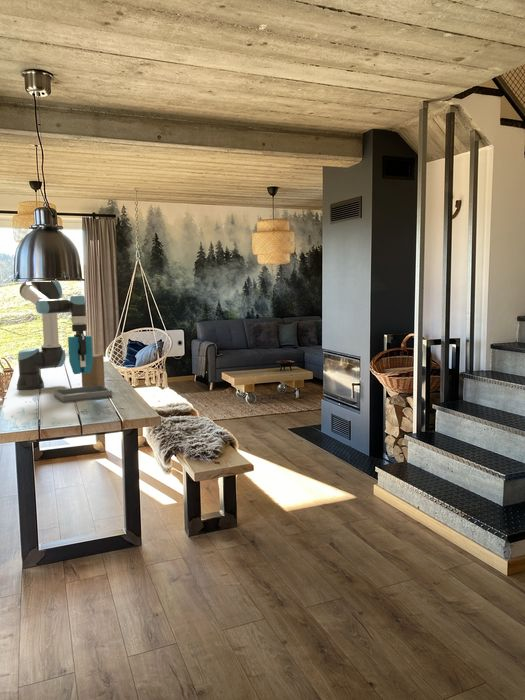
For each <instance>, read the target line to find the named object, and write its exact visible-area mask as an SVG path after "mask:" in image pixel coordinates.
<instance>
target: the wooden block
mask: <svg viewBox="0 0 525 700" xmlns="http://www.w3.org/2000/svg"><path fill="white" fill-rule="evenodd" d="M104 363H105V362H104V355H103V354H99V353H98V354H97V353H95V354H93V363H92V367H91V372H90V373H81V387H87V386H96V385H101V386H104V387H105V385H106V384H105V383H106V382H105V381H106V380H105V364H104Z"/></svg>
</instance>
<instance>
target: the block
mask: <svg viewBox="0 0 525 700" xmlns="http://www.w3.org/2000/svg"><path fill="white" fill-rule="evenodd" d="M85 336H86V354H85V361H86V367H80V359H78V349H79V343H78V339H79V337H74V336H67V342H68V343H67V345H68V361H69V365H70V368H71V371H72V373H73V375H81V374H82V373H90V372H91V367H92V363H93V337H92V335H85ZM79 341H80V340H79Z"/></svg>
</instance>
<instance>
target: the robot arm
mask: <svg viewBox="0 0 525 700" xmlns="http://www.w3.org/2000/svg"><path fill="white" fill-rule="evenodd" d="M19 294H20V297H21V298H23V299H24V300H26V301H29V302H31V304H33V305H34V306H35V310H36V312H37V314H41V317H42V333H43V334H42V335H43V336H42V337H43V344H42V345H41V347H40V348H41V349H39V347H30V348H25V349H21V350H19V352H18V353H17V361H18V375H19V376H18V379H17V384H16V388H17V390H36V389H42V388H43V387H45V382H44V380H43V377H42V375H41V370H42V369H51V368H52V369H56V368H61V367H63V365H64V364H65V362H66V357H67V356H66V351H65V348H63V347H62V345H61V344H60V343H59V327H58V325H59V324H58V314H66V313H68V314H69V313H70V314H71V318H70V321H71V324H72V325H71V330H72V332H75V334H74V336H73V337H79V339H78V343H79V349H78V359H80V367H86V361H85V354H86V336H87V335H85V334H84V332H86V331H88V330H87V329H88V327H87V324H86V323H87V313H86V307H87V306H86V297H85V296H84V295H83V294H82V295H80V294H78V295H71V296H70V298H62V297H63V288H62V285H61V283H60V282H59V280H57V281H51V282H26V281H24V282H23V283H22V284H21V285H20V287H19ZM79 340H80V341H79Z"/></svg>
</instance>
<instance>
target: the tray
mask: <svg viewBox="0 0 525 700" xmlns="http://www.w3.org/2000/svg"><path fill="white" fill-rule="evenodd" d="M53 397H54V398H56V399H57V400H58V401H60V402H62V403H64V404H65V403H72V402H73V403H74V402H81V401H88V400H89V401H90V400H96V399H97V400H98V399H105V398H112V397H113V391H112V389H110V388H108V387H104V386H101V385H96V386H87V387H82V386H79V387H72V388H63V389H54V390H53Z"/></svg>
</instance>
